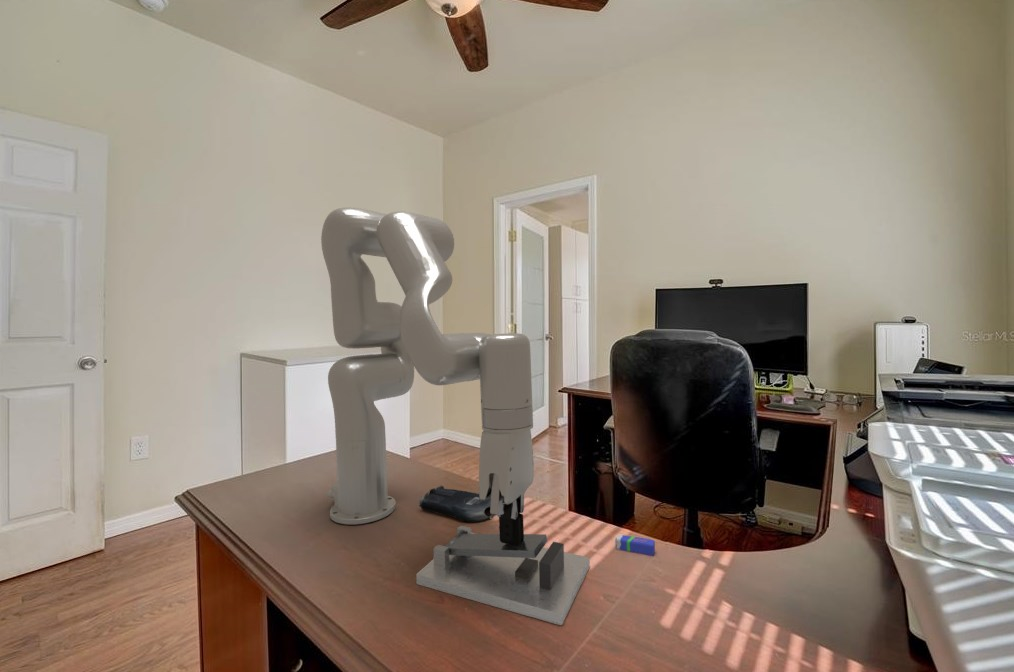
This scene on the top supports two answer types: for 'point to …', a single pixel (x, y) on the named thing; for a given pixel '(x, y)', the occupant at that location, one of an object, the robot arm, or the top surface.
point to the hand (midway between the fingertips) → (511, 541)
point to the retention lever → (495, 545)
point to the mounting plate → (510, 580)
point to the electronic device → (456, 504)
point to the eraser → (635, 544)
